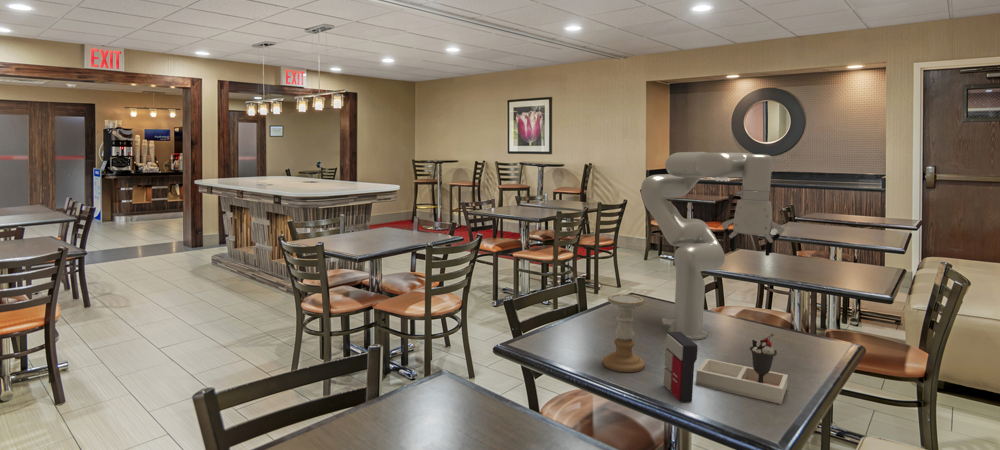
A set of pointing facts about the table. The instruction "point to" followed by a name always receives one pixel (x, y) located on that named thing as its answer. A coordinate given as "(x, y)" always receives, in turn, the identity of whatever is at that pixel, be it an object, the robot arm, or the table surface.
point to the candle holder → (624, 336)
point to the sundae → (762, 357)
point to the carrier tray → (742, 380)
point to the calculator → (680, 365)
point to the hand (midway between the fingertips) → (750, 252)
